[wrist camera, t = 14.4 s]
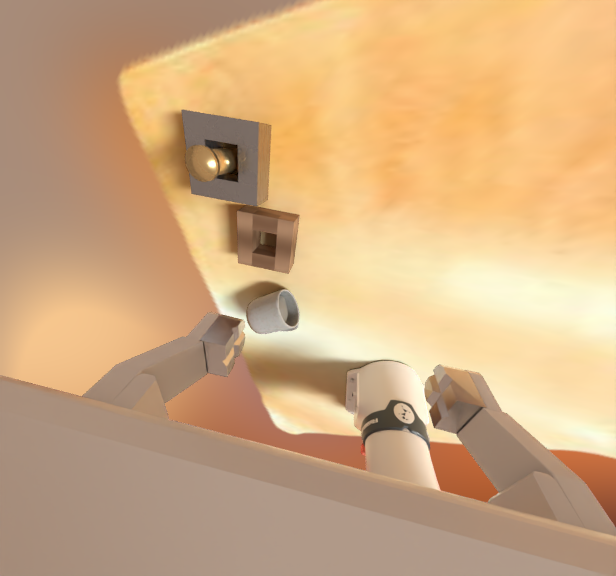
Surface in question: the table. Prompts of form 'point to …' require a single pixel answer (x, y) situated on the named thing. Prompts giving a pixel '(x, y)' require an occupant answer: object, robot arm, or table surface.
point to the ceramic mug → (273, 313)
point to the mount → (271, 222)
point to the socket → (251, 156)
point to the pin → (210, 162)
